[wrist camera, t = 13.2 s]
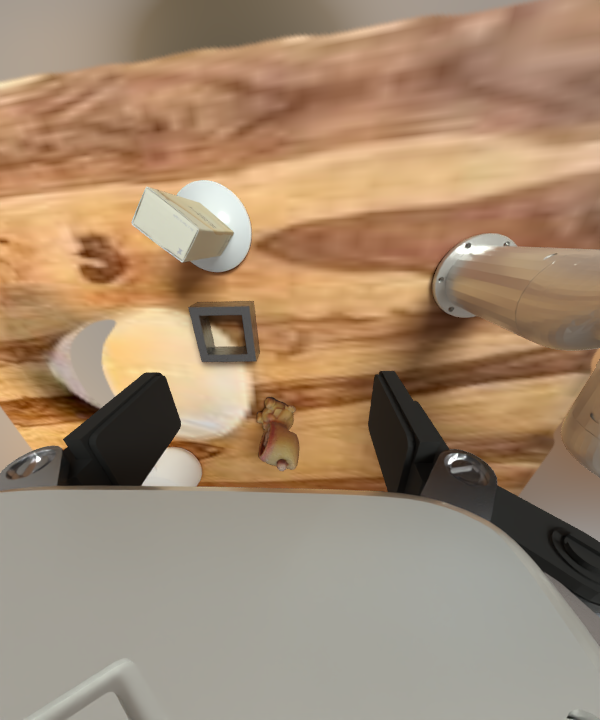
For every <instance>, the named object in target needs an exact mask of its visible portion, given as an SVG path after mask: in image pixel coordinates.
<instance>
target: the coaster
mask: <svg viewBox="0 0 600 720" xmlns="http://www.w3.org/2000/svg"><path fill="white" fill-rule="evenodd" d="M176 196H179V197H183V198H186V199H189V200H193V201H196V202H199V203H201V204H202V205H203V206H204V207H206V208H207V209H208V210H209V211H210V212H211V213H213V214H214V215H215V216H216V217H217V218H219V219H220V220H221V221H222V222H223V223H224V224H225V225H227V226H228V227H229V228H230V229H231V230H232V231H233V232H234V234H233V236H232V238H231V240H230V241H229V243H228V245H227V246H226V248H225V250H224V251H223V253H222V255H221V256H216V257H210V258H205V259H199V260H193V261H190V262H192V263H193V264H194V265H196V266H198V267H199V268H201V269H204V270H207V271H211V272H224V271H228V270H230V269H232V268H234V267H236V266H238V265H239V264H240V263H241V262H242V261H243V260H244V259H245V257H246V256H247V254H248V252H249V249H250V246H251V241H252V227H251V222H250V218H249V215H248V213H247V210H246V209H245V207H244V205H243V204H242V202H241V201H240V199H239V198H238V197H237V196H236V195H235V194H234V193H233V192H232V191H230V190H229V189H228V188H226V187H224V186H222V185H221V184H219V183H216V182H213V181H208V180H200V181H195V182H191V183H189V184H188V185H186V186H185V187H183V188H182V189H181V190H180V191H179V192H178V194H177V195H176Z"/></svg>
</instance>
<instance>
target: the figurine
mask: <svg viewBox="0 0 600 720" xmlns="http://www.w3.org/2000/svg"><path fill="white" fill-rule="evenodd" d="M265 405H266V407H265V409H264V410H263V412H258V413H257V422H258V423H262V425H263V429H264V430H265V431H264V433H263V436H262V439H261V442H260V447H259V453H258V456H259V458H260V459H261V460H262V461H264V462H266V463H268V464H270V465H274V466H277V468H278V469H279V470H280V471H284V470H285V469H286V468H287V469H291V470H293V469H295V468H296V466H297V463H298V457H299V441H298V437H297V435H296V434H295V433H293V432H290V431H289V429H290V428H291V427H292V425H293V421H294V420H293V415H294V414H293V413H294V412H295V411H296V409H295V407H294V406H288V405H286V404H285V403H283V402H280V401H278V400H276V399H275V398H272V397H268V398H266V400H265Z"/></svg>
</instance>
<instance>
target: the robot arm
mask: <svg viewBox="0 0 600 720" xmlns="http://www.w3.org/2000/svg"><path fill="white" fill-rule="evenodd" d="M465 245H466V247H465ZM439 278H440V280H439ZM432 289H433V296H434V299H435V302H436V303H437V305H438V306H439V307H440V308H441V309H442V310H443V311H444V312H446V313H448V314H450V315H452V316H455V317H460V318H469V317H475V316H478V317H480V318H482V319H485V320H487V321H489V322H491V323H493V324H495V325H497V326H500V327H502V328H504V329H506V330H508V331H510V332H513V333H515V334H517V335H519V336H521V337H523V338H526V339H528V340H530V341H532V342H535V343H537V344H539V345H542V346H545V347H548V348H552V349H557V350H568V351H575V350H589V349H596V348H600V250H597V249H568V248H542V247H517V245H516V244H515V243H514V242H513V241H512V240H511V239H509V238H508V237H506V236H503V235H500V234H491V233H490V234H480V235H476V236H472V237H470V238H468V239H465V240H464V241H462V242H460V243H459V244H457V245H456V246H455V247H454V248H452V249H451V250H450V251H449V252H448V253H447V254H446V256H445V257H444V258H443V259H442V261H441V262H440V264H439V266H438V268H437V270H436V272H435V275H434V279H433V287H432ZM180 427H181V421H180V418H179V415H178V412H177V409H176V406H175V403H174V400H173V397H172V394H171V391H170V388H169V385H168V382H167V379H166V377H165V376H163V375H162V374H161V373H144V374H143V375H141V376H140V377H139V378H138V379H137V380H135V381H134V382H133V383H132V384H130V385H129V386H128V387H127V388H125V389H124V390H123V391H122V392H121V393H119V394H118V395H117V396H116V397H114V398H113V399H112V400H111V401H109V402H108V403H107V404H106V405H105V406H103V407H102V408H101V409H100V410H98V411H97V412H96V413H95V414H94V415H92V416H91V417H90V418H89V419H87V420H86V421H85V422H84V423H82V424H81V425H80V426H79V427H78V428H76V429H75V430H74V431H73V432H71V433H70V434H69V435H68V436H67V437H65V438H64V439H63V440H64V442H65V443H66V445H67V446H68V447H67V448H66V449H65V450H64V451H63V450H62V448H60V447H59V446H47V447H43V448H39V449H36V450H34V451H31V452H29V453H27V454H25V455H23V456H21V457H19V458H18V459H16V460H15V461H13V462H12V463H11V464H9V465H8V466H7V467H6V468H5V469H4V470H2V472H1V473H0V720H600V542H598V541H597V540H595V539H594V538H592V537H591V536H589V535H587V534H586V533H584V532H582V531H581V530H579V529H577V528H575V527H573V526H571V525H570V524H568V523H566V522H564V521H562V520H560V519H558V518H557V517H555V516H553V515H551V514H549V513H547V512H545V511H543V510H542V509H540V508H538V507H536V506H535V505H532V504H531V503H529V502H527V501H525V500H523V499H522V498H520V497H518V496H516V495H514V494H512V493H511V492H509V491H507V490H505V489H503V488H501V487H499V486H498V485H497V477H496V475H495V473H494V471H493V470H492V469H491V467H490V466H489V465H488V464H487V463H485V462H484V461H483V460H482V459H480V458H479V457H477V456H475V455H473V454H471V453H469V452H466V451H463V450H457V449H449V448H448V446H447V445H446V443H445V442H444V440H443V439H442V437H441V436H440V434H439V433H438V431H437V430H436V428H435V427H434V425H433V424H432V422H431V421H430V419H429V418H428V416H427V415H426V413H425V412H424V410H423V409H422V407H421V406H420V404H419V403H418V402H417V401H413V399H412V398H411V396H410V395H409V393H408V392H407V390H406V388H405V387H404V385H403V384H402V382H401V381H400V379H399V377H398V376H397V374H396V373H395V372H394V371H380V372H379V374H376V375H375V377H374V384H373V392H372V399H371V407H370V414H369V421H368V427H369V432H370V435H371V438H372V441H373V445H374V448H375V451H376V454H377V458H378V461H379V464H380V467H381V471H382V474H383V477H384V480H385V484H386V487H387V490H388V492H381V491H360V490H335V489H294V488H246V487H185V486H141V485H142V484H143V482H144V481H145V479H146V478H147V476H148V475H149V473H150V472H151V470H152V469H153V467H154V466H155V465H156V463H157V462H158V460H159V459H160V457H161V456H162V454H163V453H164V451H165V450H166V448H167V447H168V445H169V444H170V443H171V441H172V440H173V438H174V437H175V435H176V434H177V432H178V431H179V429H180ZM561 436H562V441H563V443H564V445H565V447H566V449H567V450H568V451H569V453H570V454H571V455H572V456H573V457H574V458H575V459H576V460H577V461H578V462H579V463H580V464H581V465H583V466H584V467H585V468H587V469H588V470H589V471H591V472H592V473H594V474H595V475H597V476H598V477H600V359H599V361H598V363H597V364H596V368H595V370H594V371H593V373H592V375H591V376H590V378H589V379H588V381H587V383H586V384H585V386H584V388H583V389H582V391H581V392H580V394H579V396H578V397H577V399H576V400H575V402H574V404H573V405H572V407H571V409H570V410H569V412H568V414H567V416H566V418H565V420H564V422H563V425H562V429H561Z"/></svg>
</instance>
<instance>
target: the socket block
mask: <svg viewBox="0 0 600 720" xmlns="http://www.w3.org/2000/svg"><path fill="white" fill-rule="evenodd" d="M188 308H189V312H190V316H191V320H192V324H193V328H194V332H195V336H196V340H197V344H198V348H199V352H200V356H201V360H202V362H237V361H257V359H258V356H259V354H260V350H259V341H258V333H257V324H256V316H255V307H254V301H234V302H197V303H195V304H194V305H192V306H190V307H188ZM208 315H242V319H243V326H244V333H245V340H246V346H244V347H215V345H214V341H213V336H212V331H211V326H210V322H209V317H208Z"/></svg>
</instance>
